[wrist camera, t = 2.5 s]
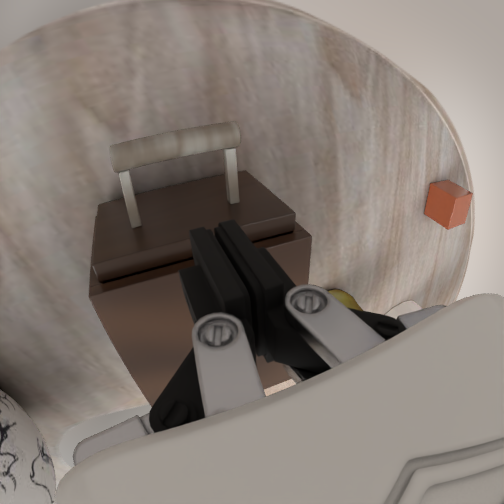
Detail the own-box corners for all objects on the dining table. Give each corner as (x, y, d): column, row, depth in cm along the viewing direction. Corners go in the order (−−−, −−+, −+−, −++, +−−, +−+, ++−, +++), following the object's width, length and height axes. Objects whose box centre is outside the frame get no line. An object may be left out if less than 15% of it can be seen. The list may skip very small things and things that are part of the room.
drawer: (81, 139, 17) (60, 174, 11) (242, 107, 21) (297, 126, 15) (143, 331, 28) (158, 399, 22) (253, 299, 31) (288, 356, 25)
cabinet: (95, 215, 21) (88, 296, 14) (249, 179, 25) (312, 235, 18) (143, 341, 30) (161, 421, 22) (256, 308, 33) (298, 376, 26)
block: (430, 183, 34) (456, 198, 31) (448, 179, 35) (473, 193, 32) (423, 213, 37) (447, 230, 33) (441, 208, 38) (464, 223, 35)
